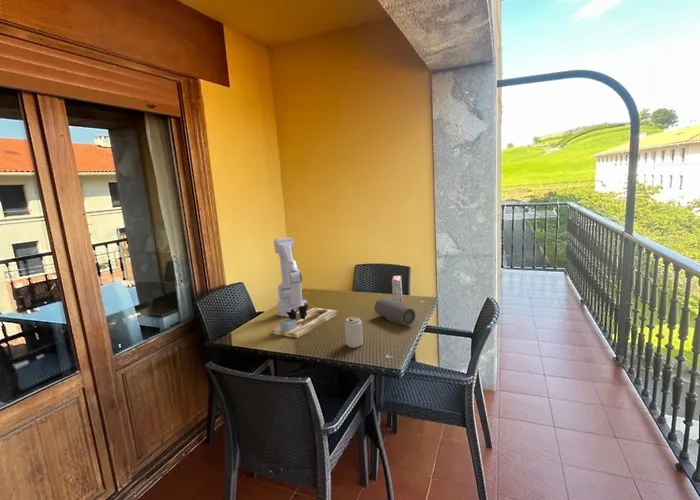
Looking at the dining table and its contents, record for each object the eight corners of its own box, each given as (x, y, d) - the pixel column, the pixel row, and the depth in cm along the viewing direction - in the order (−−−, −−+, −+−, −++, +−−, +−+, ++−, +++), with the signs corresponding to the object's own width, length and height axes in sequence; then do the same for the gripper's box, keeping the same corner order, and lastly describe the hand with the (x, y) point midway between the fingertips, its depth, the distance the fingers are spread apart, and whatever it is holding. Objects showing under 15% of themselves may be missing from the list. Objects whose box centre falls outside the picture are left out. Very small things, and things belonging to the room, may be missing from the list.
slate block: (280, 330, 175) (280, 322, 175) (288, 326, 180) (288, 318, 180) (288, 331, 173) (288, 323, 172) (296, 327, 178) (296, 319, 177)
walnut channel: (290, 323, 184) (290, 319, 184) (305, 315, 195) (305, 311, 195) (303, 325, 180) (303, 321, 180) (318, 317, 191) (318, 313, 191)
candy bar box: (394, 302, 214) (393, 275, 211) (402, 302, 213) (401, 275, 210) (392, 308, 203) (391, 280, 201) (401, 308, 202) (400, 280, 200)
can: (345, 342, 161) (343, 316, 159) (362, 340, 162) (360, 315, 160) (346, 349, 154) (344, 322, 152) (364, 347, 154) (362, 320, 153)
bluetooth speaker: (416, 325, 176) (416, 305, 175) (402, 329, 172) (401, 309, 170) (388, 313, 196) (387, 295, 194) (374, 317, 191) (373, 299, 189)
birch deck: (271, 333, 178) (271, 329, 177) (314, 310, 208) (313, 307, 208) (297, 338, 170) (297, 333, 169) (337, 313, 200) (337, 310, 200)
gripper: (293, 300, 173) (295, 327, 175) (311, 292, 185) (313, 317, 187) (282, 298, 176) (284, 325, 178) (300, 291, 189) (302, 316, 191)
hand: (298, 321), depth 183 cm, fingers open, 7 cm apart
